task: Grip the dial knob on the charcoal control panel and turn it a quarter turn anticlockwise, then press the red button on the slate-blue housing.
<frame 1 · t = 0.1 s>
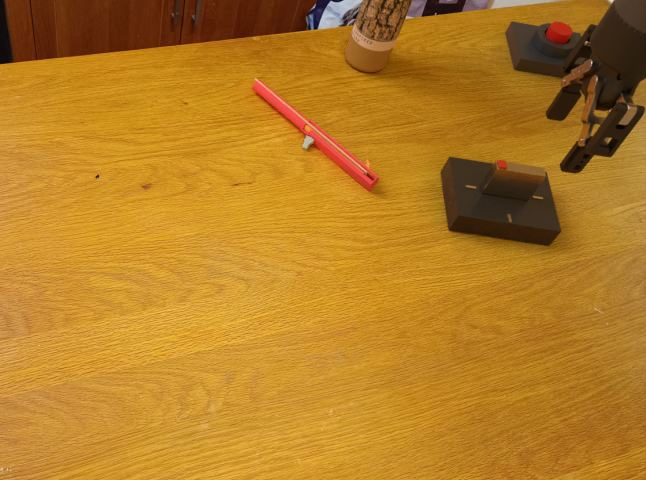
hand: (560, 143, 83), 18 cm above the table, tool pointing down, fingers open, 8 cm apart
button: (559, 33, 119), point 4 cm above the table, slide at 0.1 cm
dial knob: (513, 180, 97), point 5 cm above the table, hinge at 0.0°
button box: (544, 57, 122), on the table
paper tube: (364, 61, 116), on the table
red grooved bar: (308, 139, 105), on the table
panel: (493, 208, 102), on the table
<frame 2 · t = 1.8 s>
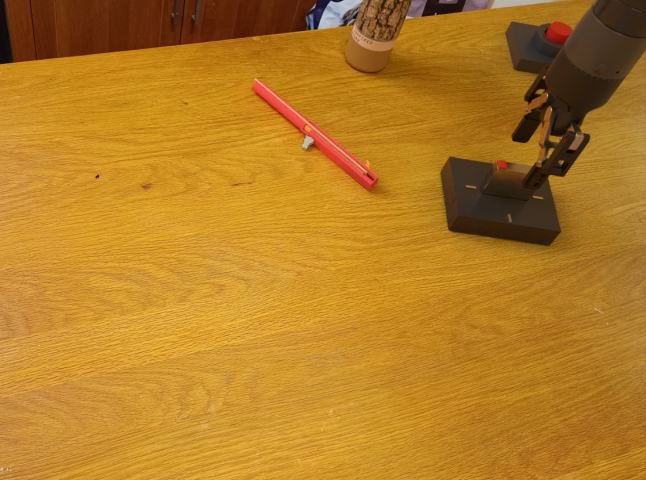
hand: (523, 163, 95), 8 cm above the table, tool pointing down, fingers open, 8 cm apart
nothing on the table moved.
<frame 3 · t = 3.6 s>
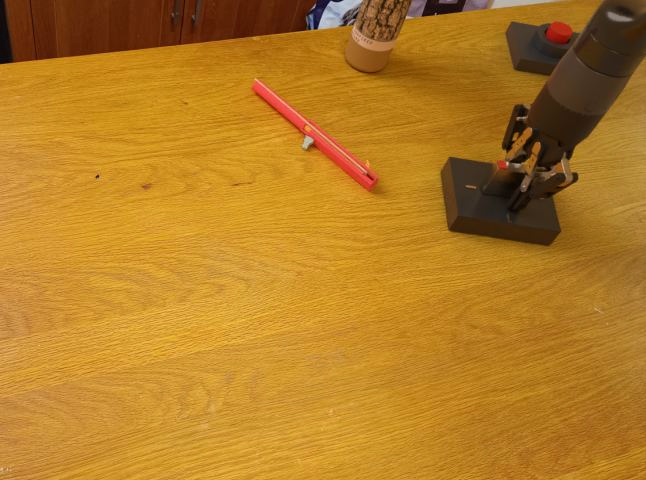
hand: (507, 195, 98), 3 cm above the table, tool pointing down, fingers open, 3 cm apart
dial knob: (513, 180, 97), point 5 cm above the table, hinge at 1.7°, touching gripper
everything else where it was.
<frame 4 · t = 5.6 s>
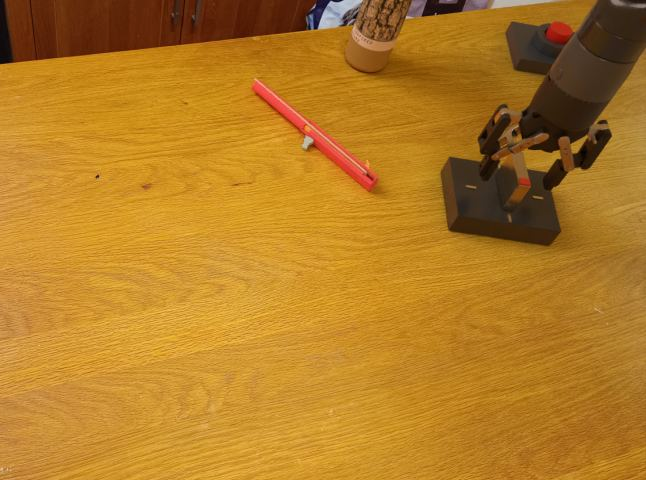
hand: (514, 181, 97), 5 cm above the table, tool pointing down, fingers open, 8 cm apart
dial knob: (513, 180, 97), point 5 cm above the table, hinge at 89.9°
everything else where it was.
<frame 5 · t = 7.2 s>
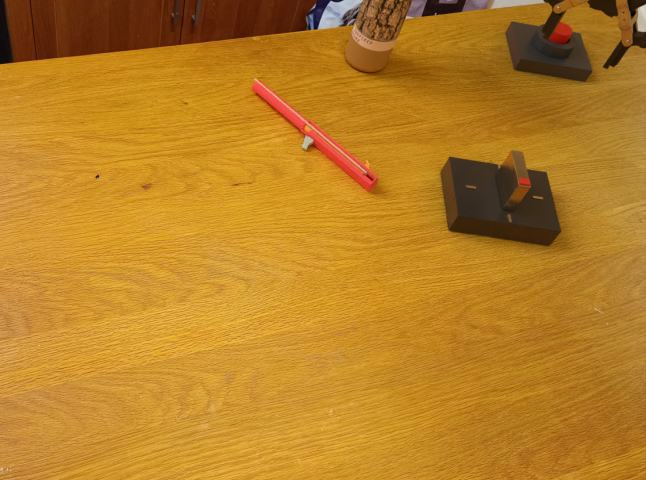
hand: (576, 51, 98), 15 cm above the table, tool pointing down, fingers open, 8 cm apart
nothing on the table moved.
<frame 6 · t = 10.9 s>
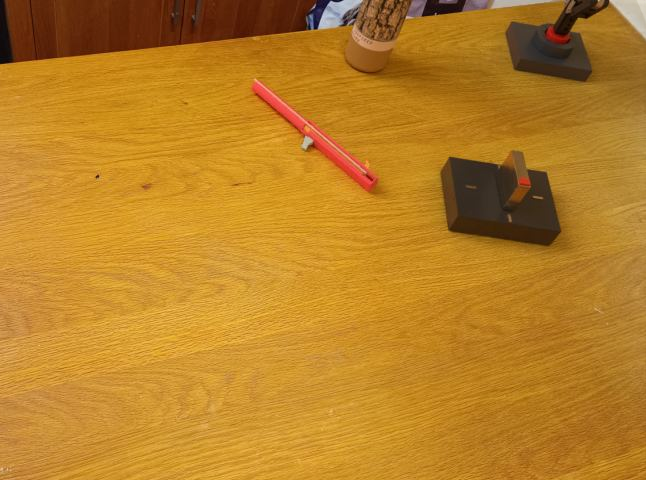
hand: (559, 32, 119), 5 cm above the table, tool pointing down, fingers closed
button: (556, 37, 119), point 4 cm above the table, slide at -0.7 cm, touching gripper
everything else where it was.
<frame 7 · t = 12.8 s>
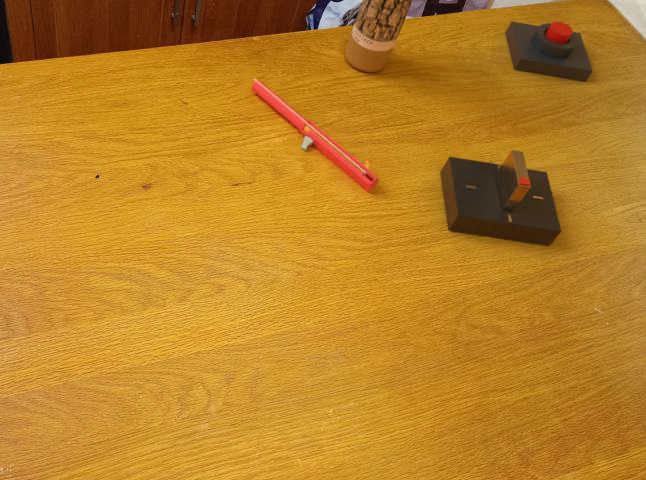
button: (559, 33, 119), point 4 cm above the table, slide at 0.1 cm
everything else where it was.
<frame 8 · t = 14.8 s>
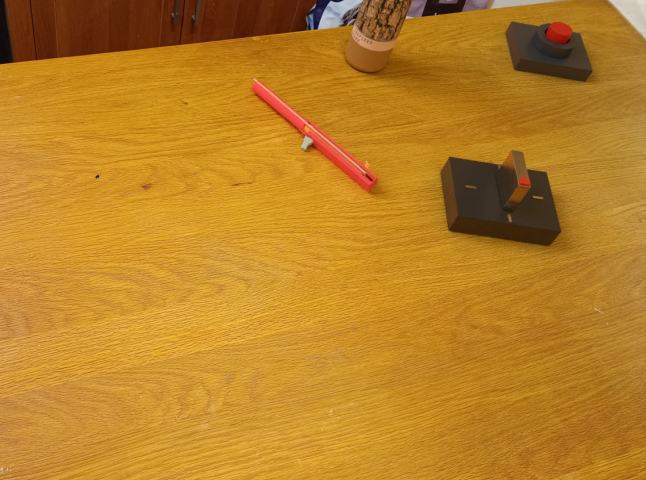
nothing on the table moved.
at the end: dial knob at +90° (first picture: +0°); button pushed in 1.1 cm at the most during the clip, back to where it started at the end; button slide at 0.1 cm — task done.
